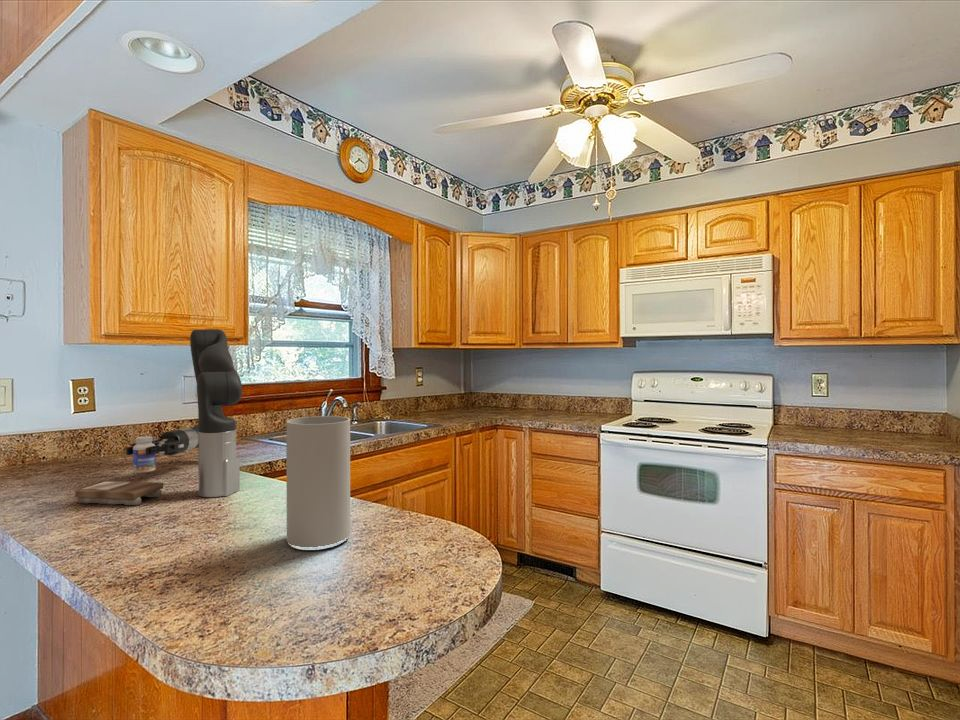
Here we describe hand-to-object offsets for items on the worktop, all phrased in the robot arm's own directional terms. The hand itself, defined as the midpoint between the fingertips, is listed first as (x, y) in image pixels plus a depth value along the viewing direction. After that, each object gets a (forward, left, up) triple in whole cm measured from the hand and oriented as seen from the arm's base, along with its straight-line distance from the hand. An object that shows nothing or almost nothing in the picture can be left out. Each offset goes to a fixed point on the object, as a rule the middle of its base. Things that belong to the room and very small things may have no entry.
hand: (137, 451), depth 142 cm
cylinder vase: (-67, +31, -11) cm, 75 cm away
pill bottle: (0, -3, -6) cm, 7 cm away
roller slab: (-4, +10, -11) cm, 15 cm away
